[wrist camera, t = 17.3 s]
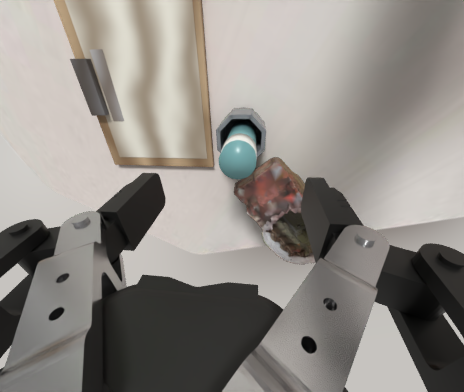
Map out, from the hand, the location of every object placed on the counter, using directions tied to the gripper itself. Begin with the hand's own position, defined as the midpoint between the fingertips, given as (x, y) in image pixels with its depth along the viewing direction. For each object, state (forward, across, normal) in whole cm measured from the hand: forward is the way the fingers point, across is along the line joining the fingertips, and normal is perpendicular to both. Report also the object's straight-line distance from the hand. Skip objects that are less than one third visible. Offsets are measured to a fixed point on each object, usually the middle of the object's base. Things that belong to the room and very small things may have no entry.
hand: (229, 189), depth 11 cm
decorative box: (+22, -6, +15) cm, 27 cm away
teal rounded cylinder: (+21, +1, +2) cm, 21 cm away
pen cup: (+22, +1, +2) cm, 22 cm away
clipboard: (+22, +15, -4) cm, 26 cm away
